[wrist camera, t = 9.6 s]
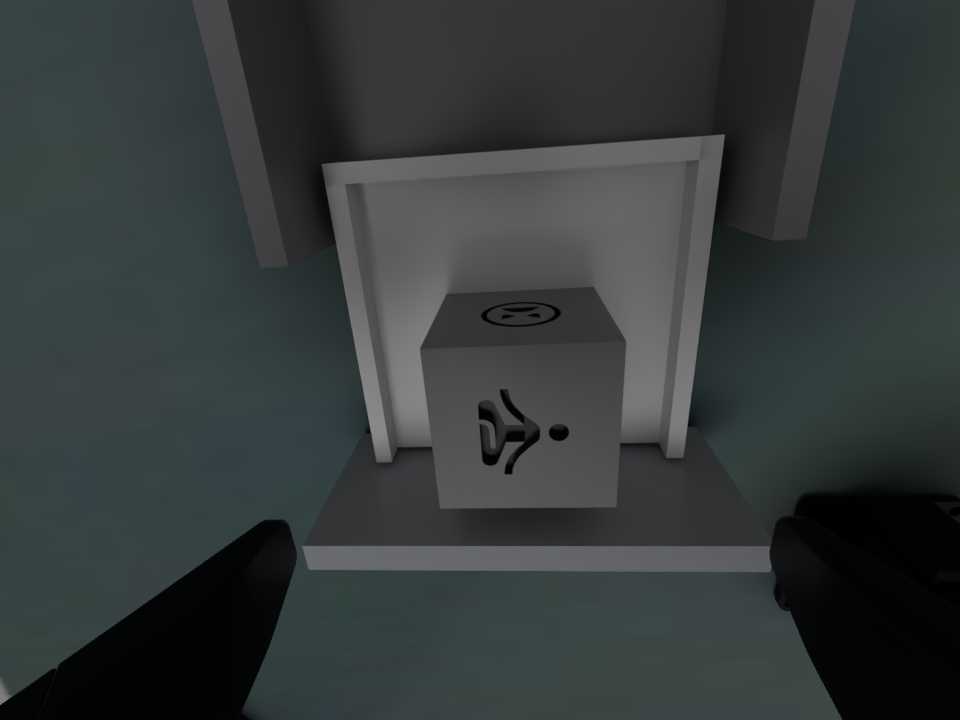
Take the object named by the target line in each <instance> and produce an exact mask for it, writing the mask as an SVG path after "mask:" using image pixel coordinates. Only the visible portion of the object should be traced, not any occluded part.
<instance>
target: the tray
mask: <svg viewBox="0 0 960 720" xmlns="http://www.w3.org/2000/svg"><path fill="white" fill-rule="evenodd" d="M724 137H725V135H712V136H698V137H685V138H671V139H657V140H643V141H630V142H616V143H602V144H588V145H575V146H561V147H547V148H533V149H520V150H506V151H492V152H478V153H465V154H451V155H437V156H423V157H410V158H396V159H382V160H368V161H355V162H341V163H327V164H321V165H322V170H323V175H324V181H325V186H326V192H327V197H328V202H329V208H330V213H331V219H332V224H333V229H334V235H335V240H336V246H337V251H338V256H339V262H340V267H341V273H342V278H343V283H344V289H345V294H346V300H347V305H348V310H349V316H350V321H351V326H352V332H353V337H354V343H355V348H356V353H357V359H358V364H359V370H360V375H361V380H362V386H363V391H364V397H365V402H366V407H367V413H368V418H369V424H370V429H371V433H364V434H362V436H361V438H360V440H359V442H358V444H357V446H356V447H355V449H354V451H353V453H352V455H351V457H350V458H349V460H348V462H347V464H346V466H345V468H344V470H343V471H342V473H341V475H340V477H339V479H338V481H337V482H336V484H335V486H334V488H333V490H332V492H331V494H330V495H329V497H328V499H327V501H326V503H325V505H324V507H323V508H322V510H321V512H320V514H319V516H318V518H317V519H316V521H315V523H314V525H313V527H312V529H311V531H310V532H309V534H308V536H307V538H306V540H305V542H304V543H303V545H302V547H303V551H304V554H305V558H306V561H307V565H308V568H309V570H458V571H642V572H770V571H771V567H772V565H771V562H770V557H769V551H770V546H771V542H772V539H771V537H770V536H769V534H768V533H767V531H766V530H765V528H764V527H763V525H762V524H761V522H760V521H759V519H758V518H757V516H756V515H755V514H754V512H753V511H752V509H751V508H750V506H749V505H748V503H747V502H746V500H745V499H744V497H743V496H742V494H741V493H740V491H739V490H738V488H737V487H736V485H735V484H734V482H733V481H732V479H731V478H730V476H729V475H728V473H727V472H726V470H725V469H724V467H723V466H722V464H721V463H720V461H719V460H718V458H717V457H716V455H715V454H714V452H713V451H712V449H711V448H710V446H709V445H708V443H707V442H706V440H705V439H704V437H703V436H702V434H701V433H700V431H699V430H698V428H697V427H687V426H688V418H689V410H690V402H691V394H692V387H693V379H694V371H695V363H696V355H697V348H698V340H699V332H700V324H701V317H702V309H703V301H704V293H705V285H706V278H707V270H708V262H709V254H710V246H711V239H712V231H713V223H714V215H715V207H716V200H717V192H718V184H719V176H720V168H721V161H722V153H723V145H724ZM582 287H594V288H595V290H596V291H597V293H598V295H599V296H600V298H601V300H602V301H603V303H604V305H605V306H606V308H607V310H608V311H609V313H610V315H611V316H612V318H613V320H614V321H615V323H616V325H617V326H618V328H619V330H620V331H621V333H622V335H623V336H624V338H625V340H626V357H625V374H624V390H623V406H622V423H621V439H620V455H619V472H618V488H617V505H616V507H590V508H451V509H440V503H439V496H438V488H437V480H436V472H435V465H434V457H433V449H432V441H431V433H430V426H429V418H428V410H427V402H426V394H425V387H424V379H423V371H422V363H421V355H420V347H421V345H422V343H423V341H424V339H425V337H426V335H427V333H428V331H429V329H430V327H431V325H432V323H433V321H434V319H435V316H436V314H437V312H438V310H439V308H440V306H441V304H442V302H443V300H444V298H445V296H446V294H457V293H478V292H499V291H520V290H540V289H561V288H582Z"/></svg>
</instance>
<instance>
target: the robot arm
mask: <svg viewBox="0 0 960 720" xmlns="http://www.w3.org/2000/svg"><path fill="white" fill-rule="evenodd" d="M813 508H815V509H813ZM811 509H813V510H811ZM769 557H770V562H771V565H772V568H773V571H774V573H775V575H776V578H777V580H778V586H777V590H776V594H775V600H776V602H777V603H778V605H779V607H780V608H781V609H782V610H785V611H790V612H791V614H792V617H793V619H794V622H795V624H796V627H797V629H798V632H799V634H800V636H801V639H802V641H803V643H804V646H805V648H806V650H807V652H808V655H809V657H810V659H811V661H812V663H813V665H814V667H815V669H816V671H817V673H818V674H819V676H820V678H821V680H822V682H823V684H824V686H825V688H826V690H827V691H828V693H829V695H830V697H831V699H832V701H833V703H834V705H835V707H836V709H837V710H838V712H839V714H840V716H841V718H842V720H960V498H958V497H956V496H824V497H808V498H805V499H803V500H802V501H801V502H800V503H799V505H798V508H797V512H796V516H783V517H780V518H779V519H778V520H777V522H776V525H775V530H774V534H773V538H772V542H771V546H770V551H769ZM296 560H297V552H296V548H295V544H294V541H293V538H292V534H291V531H290V527H289V525H288V523H287V522H286V521H285V520H264V521H262V522H260V523H259V524H257V525H256V526H254V527H253V528H252V529H250V530H249V531H247V532H246V533H245V534H243V535H242V536H240V537H239V538H237V539H236V540H235V541H233V542H232V543H230V544H229V545H228V546H226V547H225V548H223V549H222V550H220V551H219V552H218V553H216V554H215V555H213V556H212V557H210V558H209V559H208V560H206V561H205V562H203V563H202V564H201V565H199V566H198V567H196V568H195V569H193V570H192V571H191V572H189V573H188V574H186V575H185V576H184V577H182V578H181V579H179V580H178V581H176V582H175V583H174V584H172V585H171V586H169V587H168V588H166V589H165V590H164V591H162V592H161V593H159V594H158V595H157V596H155V597H154V598H152V599H151V600H149V601H148V602H147V603H145V604H144V605H142V606H141V607H139V608H138V609H137V610H135V611H134V612H132V613H131V614H130V615H128V616H127V617H125V618H124V619H122V620H121V621H120V622H118V623H117V624H115V625H114V626H112V627H111V628H110V629H108V630H107V631H105V632H104V633H103V634H101V635H100V636H98V637H97V638H95V639H94V640H93V641H91V642H90V643H88V644H87V645H85V646H84V647H83V648H81V649H80V650H78V651H77V652H76V653H74V654H73V655H71V656H70V657H68V658H67V659H66V660H64V661H63V662H61V663H60V664H59V665H58V667H57V669H51V670H50V671H48V672H47V673H46V674H44V675H43V676H41V677H40V678H38V679H37V680H36V681H34V682H33V683H31V684H30V685H29V686H27V687H26V688H24V689H23V690H21V691H20V692H18V693H17V694H16V695H14V696H13V697H11V698H10V699H8V700H7V701H5V702H4V703H2V704H1V705H0V720H238V719H239V716H240V714H241V712H242V709H243V707H244V705H245V702H246V700H247V698H248V695H249V693H250V691H251V688H252V686H253V684H254V681H255V679H256V677H257V674H258V672H259V670H260V667H261V665H262V663H263V660H264V658H265V655H266V653H267V650H268V648H269V645H270V643H271V640H272V637H273V634H274V631H275V628H276V625H277V622H278V618H279V615H280V612H281V609H282V606H283V603H284V600H285V596H286V593H287V590H288V587H289V584H290V581H291V578H292V574H293V571H294V568H295V565H296Z"/></svg>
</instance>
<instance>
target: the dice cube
mask: <svg viewBox="0 0 960 720" xmlns="http://www.w3.org/2000/svg"><path fill="white" fill-rule="evenodd" d="M420 355H421V363H422V371H423V379H424V387H425V394H426V402H427V410H428V418H429V426H430V433H431V441H432V449H433V457H434V465H435V472H436V480H437V488H438V496H439V503H440V509H451V508H590V507H616V505H617V488H618V472H619V455H620V439H621V423H622V406H623V390H624V374H625V357H626V340H625V338H624V336H623V335H622V333H621V331H620V330H619V328H618V326H617V325H616V323H615V321H614V320H613V318H612V316H611V315H610V313H609V311H608V310H607V308H606V306H605V305H604V303H603V301H602V300H601V298H600V296H599V295H598V293H597V291H596V290H595V288H594V287H582V288H561V289H540V290H520V291H499V292H478V293H457V294H446V296H445V298H444V300H443V302H442V304H441V306H440V308H439V310H438V312H437V314H436V316H435V319H434V321H433V323H432V325H431V327H430V329H429V331H428V333H427V335H426V337H425V339H424V341H423V343H422V345H421V347H420Z"/></svg>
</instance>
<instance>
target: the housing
mask: <svg viewBox="0 0 960 720" xmlns="http://www.w3.org/2000/svg"><path fill="white" fill-rule="evenodd" d="M855 1H856V0H192V2H193V6H194V10H195V14H196V18H197V22H198V26H199V30H200V34H201V38H202V42H203V45H204V49H205V53H206V57H207V61H208V65H209V69H210V73H211V77H212V81H213V85H214V89H215V93H216V97H217V101H218V105H219V108H220V112H221V116H222V120H223V124H224V128H225V132H226V136H227V140H228V144H229V148H230V152H231V156H232V160H233V164H234V167H235V171H236V175H237V179H238V183H239V187H240V191H241V195H242V199H243V203H244V207H245V211H246V215H247V219H248V223H249V227H250V230H251V234H252V238H253V242H254V246H255V250H256V254H257V258H258V262H259V266H260V268H272V267H289V266H291V265H293V264H295V263H297V262H299V261H301V260H303V259H305V258H307V257H309V256H311V255H313V254H315V253H317V252H319V251H321V250H323V249H325V248H327V247H329V246H331V245H333V244H335V243H336V240H335V235H334V229H333V224H332V219H331V213H330V208H329V202H328V197H327V192H326V186H325V181H324V175H323V170H322V165H321V164H327V163H341V162H355V161H368V160H382V159H396V158H410V157H423V156H437V155H451V154H465V153H478V152H492V151H506V150H520V149H533V148H547V147H561V146H575V145H588V144H602V143H616V142H630V141H643V140H657V139H671V138H685V137H698V136H712V135H725V137H724V145H723V153H722V161H721V168H720V176H719V184H718V192H717V200H716V207H715V215H714V222H717V223H720V224H723V225H726V226H729V227H732V228H735V229H738V230H741V231H744V232H747V233H750V234H753V235H756V236H759V237H762V238H765V239H768V240H771V241H778V240H797V239H806V237H807V232H808V227H809V223H810V218H811V213H812V208H813V203H814V199H815V194H816V189H817V184H818V179H819V174H820V170H821V165H822V160H823V155H824V150H825V145H826V141H827V136H828V131H829V126H830V121H831V116H832V112H833V107H834V102H835V97H836V92H837V88H838V83H839V78H840V73H841V68H842V63H843V59H844V54H845V49H846V44H847V39H848V34H849V30H850V25H851V20H852V15H853V10H854V5H855Z"/></svg>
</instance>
